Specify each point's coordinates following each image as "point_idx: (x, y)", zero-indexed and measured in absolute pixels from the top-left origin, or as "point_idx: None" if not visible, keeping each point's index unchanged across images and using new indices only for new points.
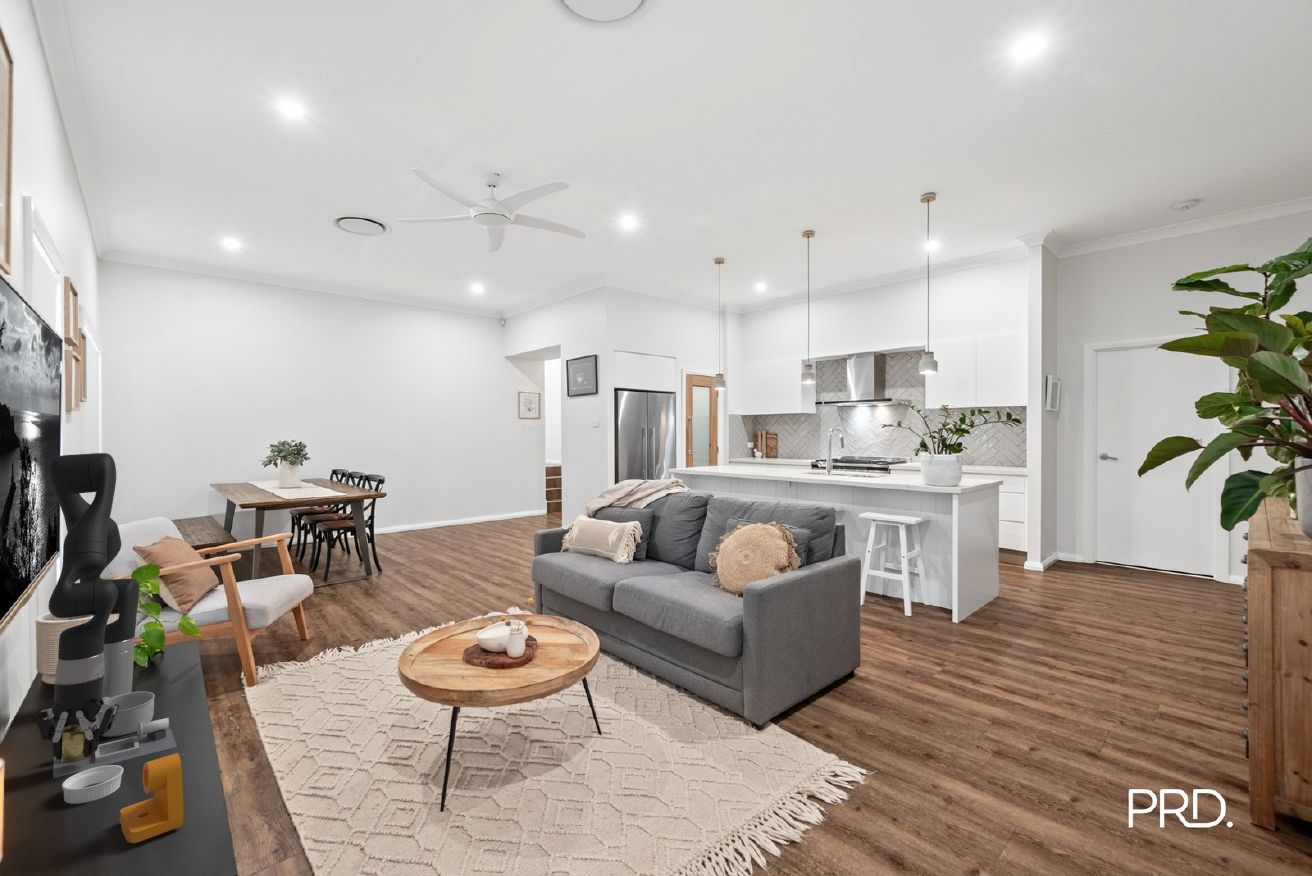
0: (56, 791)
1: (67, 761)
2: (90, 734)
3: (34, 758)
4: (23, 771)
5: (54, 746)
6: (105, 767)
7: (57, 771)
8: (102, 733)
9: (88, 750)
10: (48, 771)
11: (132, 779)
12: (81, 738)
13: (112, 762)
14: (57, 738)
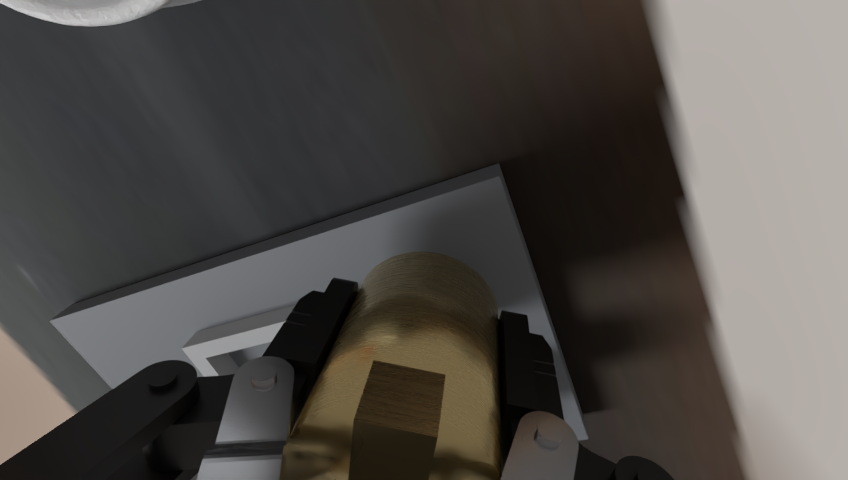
0: (437, 44)
1: (441, 260)
2: (247, 398)
3: (672, 469)
4: (691, 369)
5: (554, 397)
6: (66, 1)
7: (506, 257)
8: (141, 376)
9: (320, 303)
10: (572, 325)
11: (75, 56)
12: (328, 381)
13: (259, 261)
14: (536, 443)
